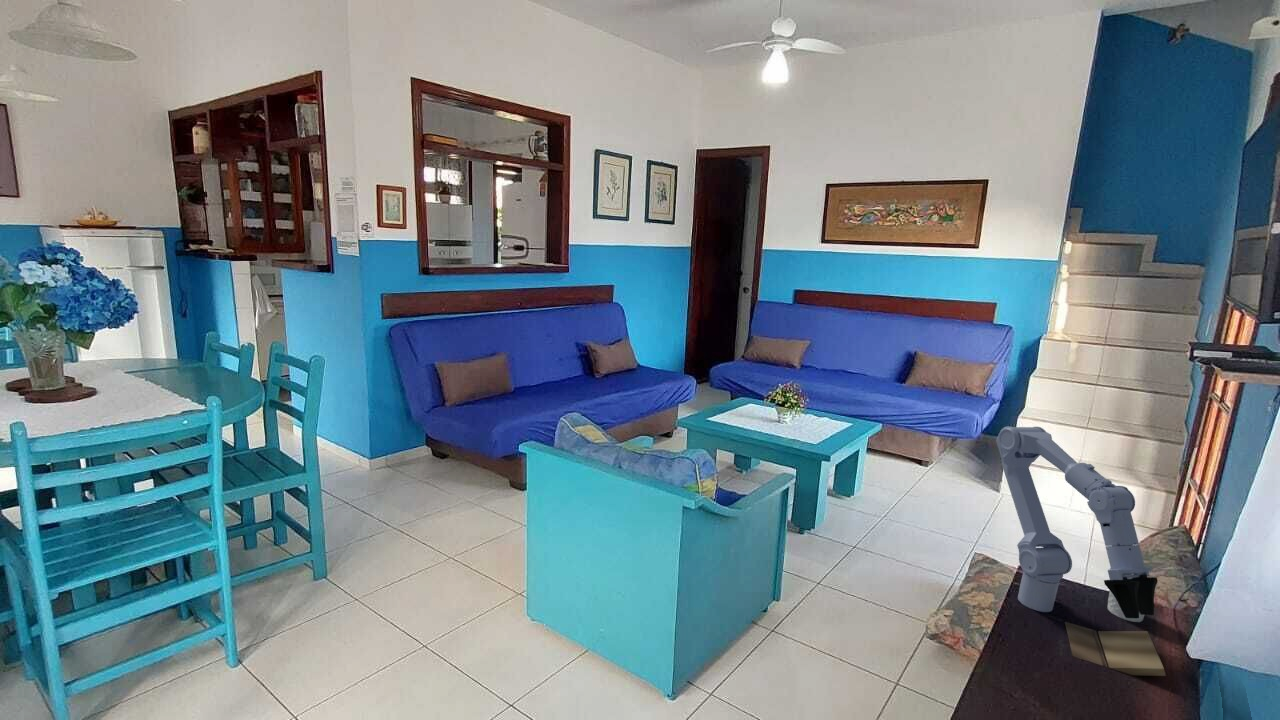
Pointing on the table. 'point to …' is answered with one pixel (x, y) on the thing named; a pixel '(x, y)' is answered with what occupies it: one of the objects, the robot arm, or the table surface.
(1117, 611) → the white cup
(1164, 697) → the table surface
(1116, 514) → the robot arm
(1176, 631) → the table surface
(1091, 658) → the walnut board
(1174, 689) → the table surface
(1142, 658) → the oak plank
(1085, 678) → the table surface
